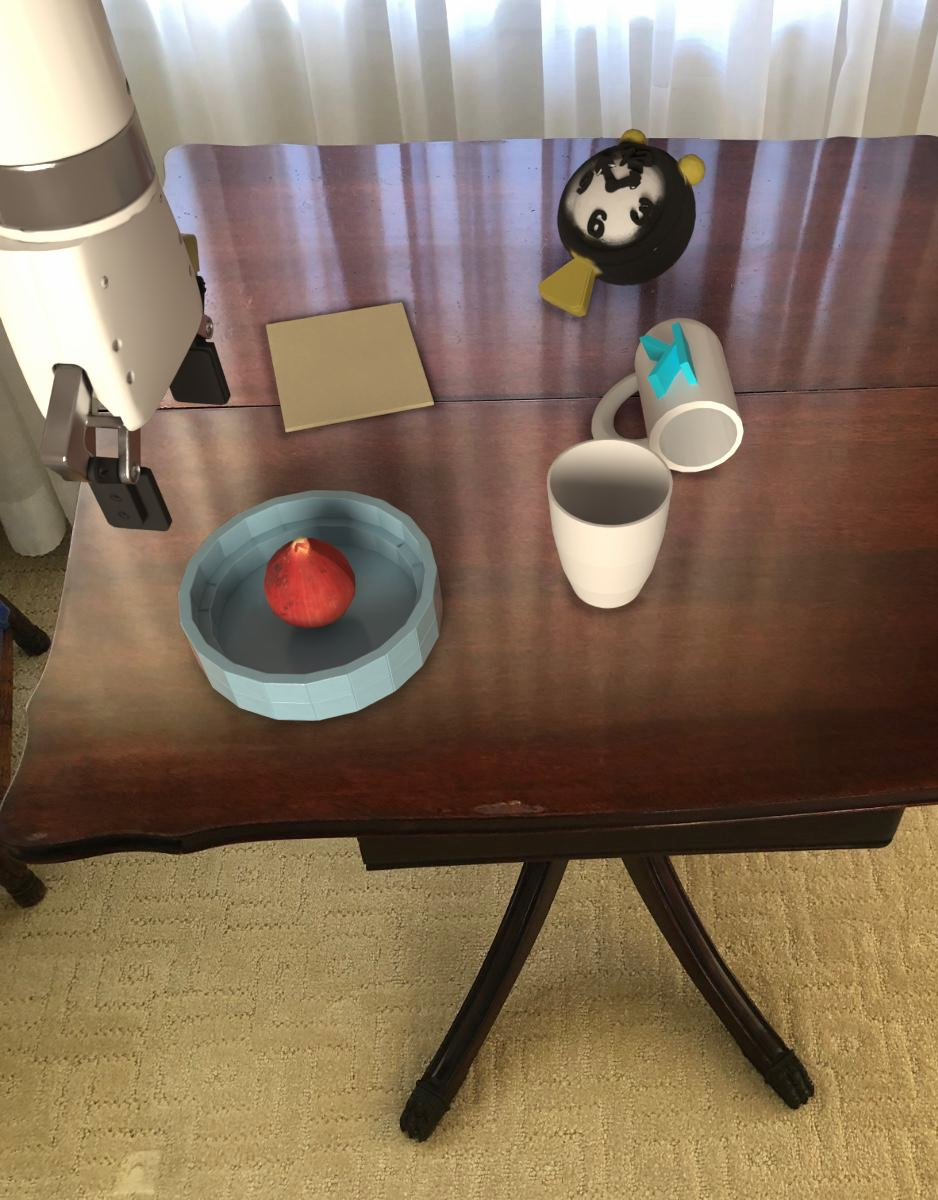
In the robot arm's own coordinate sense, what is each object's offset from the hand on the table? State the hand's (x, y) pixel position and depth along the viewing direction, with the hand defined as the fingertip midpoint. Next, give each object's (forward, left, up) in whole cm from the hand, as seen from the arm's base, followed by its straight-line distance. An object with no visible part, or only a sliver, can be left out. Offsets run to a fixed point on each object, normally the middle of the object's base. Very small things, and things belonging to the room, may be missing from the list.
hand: (174, 459), depth 59 cm
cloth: (+11, +29, -18) cm, 36 cm away
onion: (+5, +2, -18) cm, 19 cm away
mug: (+34, +15, -19) cm, 41 cm away
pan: (+5, +2, -18) cm, 19 cm away
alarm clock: (+37, +35, -19) cm, 54 cm away
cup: (+25, 0, -19) cm, 31 cm away
